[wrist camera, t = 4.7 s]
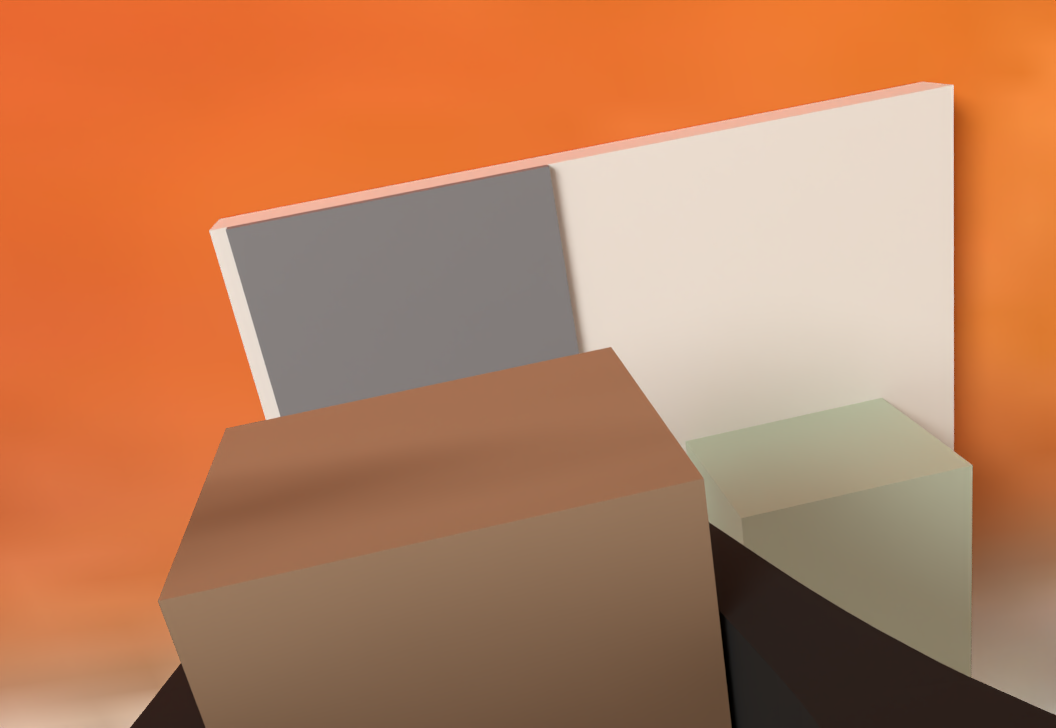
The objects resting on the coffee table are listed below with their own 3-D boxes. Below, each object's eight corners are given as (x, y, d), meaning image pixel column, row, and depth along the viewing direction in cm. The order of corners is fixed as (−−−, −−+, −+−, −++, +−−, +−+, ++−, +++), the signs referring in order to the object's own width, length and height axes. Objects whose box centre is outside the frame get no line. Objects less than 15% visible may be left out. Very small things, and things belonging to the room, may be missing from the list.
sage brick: (889, 630, 20) (970, 727, 17) (713, 673, 20) (766, 778, 17) (882, 397, 18) (972, 464, 15) (685, 441, 18) (741, 517, 15)
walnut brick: (670, 758, 12) (761, 989, 9) (355, 835, 11) (347, 1100, 9) (610, 346, 10) (704, 478, 7) (226, 428, 9) (157, 601, 6)
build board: (931, 807, 24) (959, 845, 22) (430, 936, 23) (433, 983, 21) (923, 81, 17) (960, 85, 16) (219, 218, 16) (206, 233, 15)
